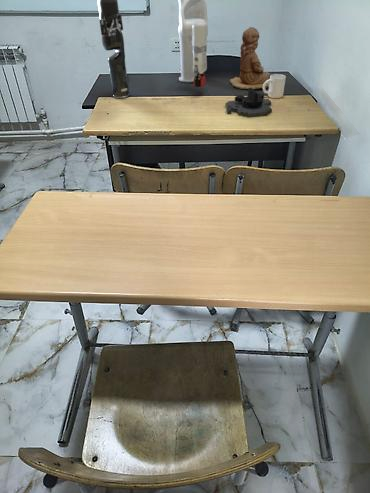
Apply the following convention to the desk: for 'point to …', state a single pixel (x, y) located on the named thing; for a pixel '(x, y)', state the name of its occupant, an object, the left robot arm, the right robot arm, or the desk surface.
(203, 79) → the brick
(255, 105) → the abstract sculpture
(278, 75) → the mug
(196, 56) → the right robot arm
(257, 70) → the sculpture
